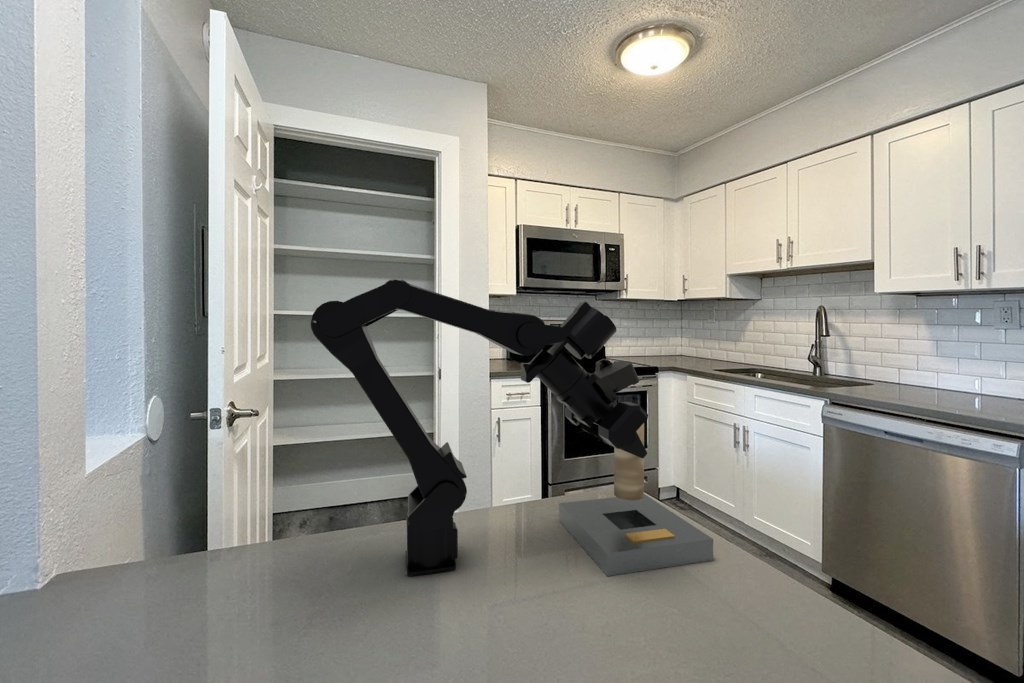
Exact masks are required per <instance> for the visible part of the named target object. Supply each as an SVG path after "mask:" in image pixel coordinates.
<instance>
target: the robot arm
mask: <svg viewBox="0 0 1024 683" xmlns="http://www.w3.org/2000/svg"><path fill="white" fill-rule="evenodd" d="M397 311H403V312H407V313H409V314H411V315H417V316H419V317H422V318H425V319H428V320H432V321H435V322H438V323H442V324H445V325H448V326H451V327H454V328H457V329H460V330H464V331H467V332H470V333H474V334H475V335H477V336H481V337H482V338H484V339H486V340H487V341H489V342H491V343H493V344H495V345H496V346H499V347H500V348H502V349H504V350H505V351H508V352H510V353H512V354H516V355H520V356H526V357H532V356H534V357H533V358H532V359H531V361H529V362H521V363H520V364H519V365H520V369H521V370H520V380H521V381H522V382H524V383H527V384H530V383H531V382H532V381H533V380H534V379H535V378H536V377H537V378H538V379H539V380H540V382H542V383H543V384H544V385H545V387H546V388H548V390H550V392H551V393H552V394H554V396H555V399H556V400H557V401H558V402H559V403H561V404H563V405H565V407H564V416H565V417H566V418H567V420H569V421H570V423H571V424H572V425H575V426H577V427H578V426H579V425H580V423H581V424H582V426H581V429H582V430H583V431H585V432H587V433H588V434H590V435H593V436H595V437H597V438H599V439H602V442H604V443H605V444H607V445H609V446H611V447H613V448H614V447H615V448H617V449H621V450H623V451H626V452H628V453H631V454H633V455H635V456H638V457H640V458H644V459H645V457H646V456H647V454H648V452H647V450H646V447H645V444H644V445H643V444H642V442H641V440H640V438H639V436H638V434H637V432H636V431H637V430H638V429H639V428H640V427H641V426H642V424H643V423H644V424H645V422H646V421H647V420H648V419H649V414H648V413H647V411H645V409H644V408H643V407H642V406H641V405H640V404H637V403H633V402H630V401H619V402H618V403H617V404H616V405H615V406H614V405H613V403H615V402H616V400H617V399H618V398H619V395H617V394H616V393H619V392H621V391H623V390H625V389H627V388H628V387H631V386H632V385H633V386H635V385H637V384H638V383H639V382H640V379H639V377H638V374H637V372H636V369H635V367H634V365H633V363H632V361H629V360H618V361H617V360H615V361H613V362H611V361H610V360H609V359H608V358H602V359H599V360H598V361H596V362H595V371H594V372H592V373H591V372H587V371H586V370H585V369H584V367H583V366H581V364H580V363H578V362H577V360H576V359H575V358H577V359H579V360H582V359H583V358H584V357H585V358H586V359H590V360H591V359H593V357H594V356H595V355H596V354H597V353H598V352H599V351H600V350H601V349H602V348H603V347H604V345H605V344H607V342H608V341H610V339H611V338H612V337H614V335H615V334H616V333H617V327H616V324H614V322H613V321H612V320H611V318H610V317H609V316H608V315H606V314H604V313H603V312H601V311H600V310H598V309H597V308H595V307H592V306H591V305H590V304H589V302H587V301H583V302H579V304H577V306H576V307H575V308H574V310H573V311H572V312H571V314H570V315H569V316H567V318H566V319H565V320H564V321H563V322H562V323H560V325H559V324H551V325H550V324H545V322H544V320H543V319H542V318H540V317H539V316H536V315H533V314H527V313H522V312H520V313H519V312H514V311H505V310H504V311H503V310H495V309H488V308H486V307H485V308H484V307H481V306H478V305H475V304H472V303H468V302H466V301H462V300H461V299H456V298H453V297H450V296H447V295H444V294H441V293H439V292H435V291H432V290H430V289H426V288H423V287H420V286H417V285H415V284H411V283H408V282H407V281H406V280H404V279H403V278H402V279H401V278H392V279H389V280H388V281H385V283H384V284H382V285H380V286H377V287H375V288H372V289H369V290H368V291H365V292H363V293H361V294H358V295H355V296H354V297H351V298H350V299H347V300H345V301H344V302H343V301H339V300H329V301H326V302H324V303H322V304H320V305H319V306H318V307H316V309H315V311H314V312H313V313H312V316H311V320H310V329H311V332H312V334H313V336H314V337H315V338H316V339H317V340H318V341H319V342H320V343H321V345H323V346H324V348H325V349H326V350H327V351H328V352H329V353H330V354H331V355H332V356H333V357H334V358H335V359H336V360H337V361H339V362H340V363H341V364H342V365H343V366H344V367H345V368H346V369H348V371H350V373H352V375H353V376H354V378H355V379H356V381H357V383H358V384H359V386H360V387H361V389H362V390H363V391H364V393H365V395H366V397H367V398H368V400H369V401H370V402H371V405H372V406H373V407H374V409H375V410H376V411H377V414H378V415H379V416H380V418H381V419H382V420H383V423H384V424H385V425H386V427H387V429H388V430H389V432H390V433H391V434H392V436H393V438H394V439H395V441H396V442H397V444H398V445H399V447H400V448H401V450H402V452H403V453H404V454H405V456H406V458H407V460H408V461H409V464H410V467H411V470H412V473H413V476H414V480H415V482H416V484H417V486H415V487H414V488H413V490H411V491H410V492H409V494H408V497H407V500H408V501H407V515H406V516H405V517H406V519H405V520H406V521H405V522H406V528H405V530H406V550H405V569H406V572H405V573H406V576H408V577H409V576H417V575H424V574H431V573H432V574H433V573H440V572H446V571H454V570H455V569H457V564H456V560H457V558H458V556H459V555H458V554H459V553H458V552H459V550H458V549H459V546H458V545H459V544H458V541H459V540H458V538H459V537H458V536H459V535H458V534H459V532H458V531H459V530H458V527H457V525H456V522H455V521H454V514H455V511H458V510H459V509H460V508H461V507H462V506H463V504H464V503H465V501H466V498H467V493H468V490H467V485H466V483H465V479H466V478H467V477H468V476H467V474H466V471H465V469H464V466H463V462H462V461H460V460H459V459H458V458H457V457H455V455H454V452H453V449H452V448H451V445H450V443H449V442H448V441H447V442H445V443H444V444H443V445H442V446H441V447H440V446H439V445H438V444H437V443H436V442H435V441H434V440H433V439H432V438H431V437H430V436H429V434H428V433H427V431H426V430H425V428H424V427H423V425H422V423H421V422H420V420H419V419H418V418H417V416H416V414H415V412H414V411H413V410H412V408H411V406H410V405H409V403H408V402H407V400H406V399H405V397H404V396H403V394H402V392H401V390H400V389H399V387H398V386H397V384H396V383H395V382H394V380H393V378H392V377H391V375H390V373H389V372H388V370H387V369H386V367H385V365H384V364H383V363H382V361H381V359H380V358H379V356H378V353H377V350H376V348H375V345H374V342H373V340H372V337H371V335H370V332H369V329H368V327H369V326H371V325H373V324H374V323H376V322H379V321H380V320H382V319H385V318H386V317H388V316H389V315H392V314H393V313H395V312H397ZM549 345H552V346H551V347H550V348H549V349H548V350H546V349H544V348H545V347H546V346H549ZM564 347H565V348H564ZM572 355H573V356H572ZM574 357H575V358H574Z"/></svg>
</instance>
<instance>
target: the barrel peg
mask: <svg viewBox="0 0 1024 683" xmlns="http://www.w3.org/2000/svg"><path fill="white" fill-rule="evenodd" d="M636 432H637V434H638V436H639V438H640V440H641V442H642V444H643V445H644V446H645V422H644V423H643V424H642V426H641V427H640V428H639V429H638V430H637V431H636ZM613 448H614V449H613V451H614V452H613V456H614V457H613V458H614V461H613V462H614V464H613V470H614V471H613V495H614V497H618V498H620V499H624V500H640V499H642V498H644V494H645V493H644V492H645V457H644V458H640V457H638V456H635V455H633V454H631V453H628V452H626V451H623V450H621V449H617V448H615V447H613Z"/></svg>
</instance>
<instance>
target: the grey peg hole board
mask: <svg viewBox="0 0 1024 683" xmlns="http://www.w3.org/2000/svg"><path fill="white" fill-rule="evenodd" d="M558 521H559V522H560V523H561V525H562V526H563V527H564V528H565V529H566V530H567V532H568V533H569V534H570V535H571V536H572V537H573V539H574V540H575V541H576V542H577V543H578V545H580V547H581V548H582V549H583V551H585V553H586V554H587V555H589V557H590V558H591V559H592V560H593V562H594V563H595V564H596V566H598V568H599V569H600V570H601V571H602V572H603V573H604V574H605V576H606V577H610V576H619V575H625V574H626V575H627V574H630V573H639V572H645V571H651V570H658V569H664V568H672V567H677V566H685V565H691V564H698V563H699V564H700V563H705V562H711V561H714V538H713V537H711V536H709V535H708V534H706V533H705V532H704V531H702V530H701V529H699V528H698V527H696V526H694V525H693V524H691V523H689V522H688V521H686V520H685V519H683V518H681V516H679V515H677V514H676V513H674V511H673V512H672V510H670V509H668V508H667V507H665V506H663V505H662V504H660V503H659V502H657V501H656V500H654V499H653V498H651V497H650V496H648V495H647V494H645V493H644V498H642V499H640V500H624V499H620V498H618V497H616V496H613V497H604V498H596V499H595V498H593V499H585V500H575V501H564V502H559V503H558Z"/></svg>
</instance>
